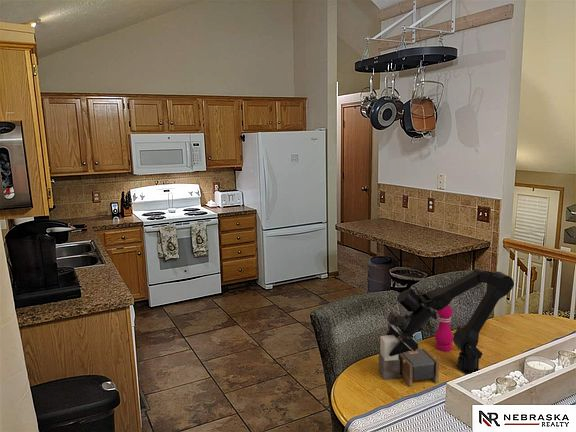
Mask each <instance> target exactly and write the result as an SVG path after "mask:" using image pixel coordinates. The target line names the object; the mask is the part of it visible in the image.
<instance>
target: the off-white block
mask: <svg viewBox="0 0 576 432" xmlns="http://www.w3.org/2000/svg"><path fill="white" fill-rule="evenodd" d="M397 343H398V338H396V337H395V336H394V335H387V336H385V335H380V346H379V347H380V352H379V353H380V354H381V355H382V357H383V359H384V361H388V360H398V354H397V355H394V356H390V355H389V353H390V352H391V351H392V349H393V348H394V347H395V346H396V344H397Z"/></svg>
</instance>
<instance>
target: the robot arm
mask: <svg viewBox="0 0 576 432" xmlns="http://www.w3.org/2000/svg"><path fill="white" fill-rule="evenodd" d="M482 283H484V284H486V292H485V294H484V296H483V297H482V299H481V301H480V302H479V303H478V305H477V307H476V309H475V310H474V312H473V313H472V316H471V317H470V319H469V321H468V322H467V324H466V325H464V326H463V327H461V326H460V325H459V326H458V327H457V329H456V330H455V332H454V333H452V334H453V342H452V343H453V344H454V345H455V347H457V349H458V350H459V351H460V352H458V356H457V364H456V367H457V368H458V369H459V370H460V371H461V372H462V373H463V374H464V375H469V373H470V374H473V373H472V372H475V371H478V370H481V368H480V367H479V365H480V359H481V358H482V356H483V352H482V351H481V350H479V348H477V346H478V343H479V337H480V332H481V330H482V329H483V327H484V325H485V324H486V322H487V320H488V318H489V317H490V316H491V314H492V312H493V311H494V309H495V307H496V305H497V304H498V302H499V301H500V300H501V299H502V298H504V297H505V296H507V295H508V294H509V293H510V291H512V289H513V288H514V287H515V283H514V280H513V278H512V277H511V276H509V275H508V274H505V273H503V272H501V271H494V272H493V271H490V270H485V269H481V268H476V269H474V270H472V272H469V273H468V274H466V275H465V276H463V277H460V278H459V279H457V280H455V281H453V282H451V283H450V284H448V285H446V286H442V287H436V288H433V289H431V290H428V291H427V292H423V293H421V294H417V293H416V292H415V290H413V288H412V287H409V288H408V289H405V290H403V291H401V292H400V293H399V294H398V295H397V297H396V302H398V304H400V305H401V306H402V307H403V308H404V309H405V310H406V311H407V312H408V313H409V312H410V314H408V313H405V314H404V315H401V314H399V313H396V312H394V311H392V310H391V311H389V314H388V316H387V317H386V319H387V332H386V333H385V335H384V336H387V335H394V336H395V337H396V339H397V340H398V343H397V344H396V346H395V347H394V348H393V349H392V351H391V352H390V353H389V355H390V356H394V355H397V354H400V353H404V352H408V351H412V350H413V351H414V352H415V351H416V350H417V349H418V347H419V343H418V342H417V341H416V340H415V339H414V338H415V336H414V334H415V333H417V331H420V332H421V331H422V330H423V328H422V327H423V325H425V323H426V322H427V321H428V320H429V319H430V318H433V319H434V320H436V321H437V320H438V314H437V311H440V310H442V309H444V308H445V307H446V306H447V305H448V306H450V304H451V302H452V301H453V300H454V299H455V298H456V297H458V296H460V295H462V294H463V293H465V292H467V291H469V290H471V289H473V288H474V287H477V286H478V285H480V284H482ZM422 304H423V305H422ZM411 349H412V350H411Z"/></svg>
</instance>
